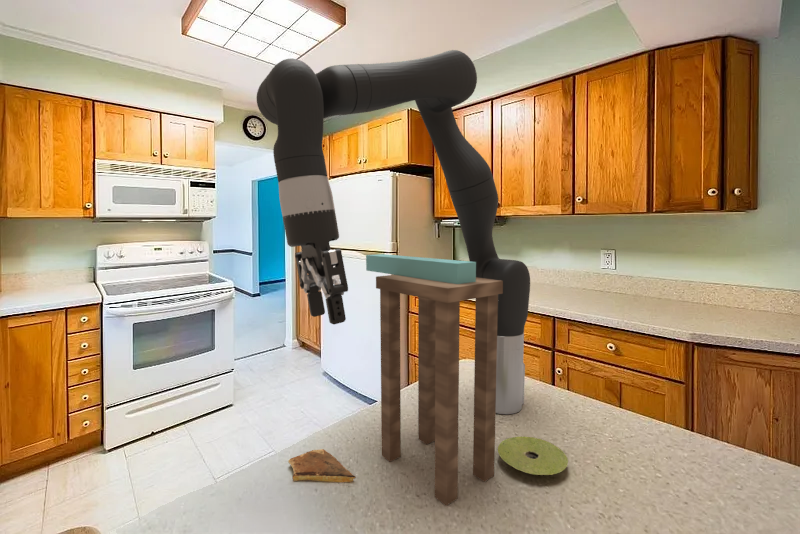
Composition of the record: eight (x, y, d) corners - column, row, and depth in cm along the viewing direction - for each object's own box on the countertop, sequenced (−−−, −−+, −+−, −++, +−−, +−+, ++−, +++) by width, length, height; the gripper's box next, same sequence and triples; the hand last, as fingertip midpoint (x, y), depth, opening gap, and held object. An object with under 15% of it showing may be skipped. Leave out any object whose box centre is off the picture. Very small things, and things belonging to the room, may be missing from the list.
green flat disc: (490, 446, 71) (490, 436, 71) (550, 445, 72) (551, 435, 72) (508, 486, 60) (509, 475, 60) (580, 485, 61) (580, 473, 60)
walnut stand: (427, 433, 76) (428, 271, 73) (498, 476, 63) (502, 280, 60) (377, 455, 69) (375, 276, 66) (446, 509, 55) (447, 288, 52)
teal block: (383, 269, 77) (382, 254, 77) (475, 281, 59) (476, 262, 58) (366, 270, 75) (366, 255, 75) (457, 284, 56) (457, 263, 56)
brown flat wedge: (355, 485, 62) (355, 474, 61) (311, 507, 57) (311, 495, 57) (323, 454, 70) (323, 445, 70) (282, 471, 65) (282, 461, 65)
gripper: (351, 202, 52) (370, 319, 54) (317, 213, 64) (333, 308, 66) (297, 208, 48) (319, 333, 50) (271, 218, 61) (290, 319, 62)
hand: (327, 318), depth 58 cm, fingers open, 8 cm apart
